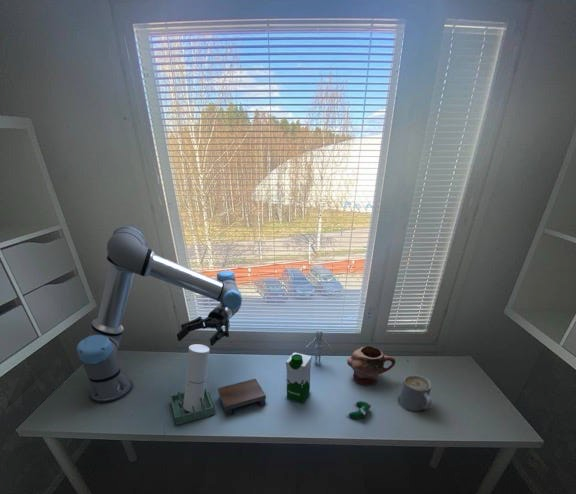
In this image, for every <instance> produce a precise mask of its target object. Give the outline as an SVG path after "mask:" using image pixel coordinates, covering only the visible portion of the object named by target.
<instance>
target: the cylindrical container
mask: <svg viewBox="0 0 576 494" xmlns="http://www.w3.org/2000/svg"><path fill="white" fill-rule="evenodd" d="M210 350H211V349H210V347H209V346H207V345H205V344H200V343H194V344H190V345H189V346H188V353H187V363H186V374H185V384H184V385H185V386H184V392H185V394H184V403H183V407H184V411H187V412H188V413H191V412H193V409H192V406H194V409H195V411H199V410H202V406H201V401H200V397H202V400H203V399H204V391H205V387H206V383H207V382H206V381H207V374H208V366H209V359H210Z"/></svg>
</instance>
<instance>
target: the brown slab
mask: <svg viewBox="0 0 576 494" xmlns="http://www.w3.org/2000/svg"><path fill="white" fill-rule="evenodd" d="M217 393H218V396H219V400H220V403H221V405H222V407H223V409H224V412H225V415H226V416H230V415H233V411H232V410H233V409H236V408H239V407H243V406H246V405H250V404H254V403H259V405H260V406H265V405H266V400H267V394H266V393H265V391H264V390H263V388H262V387H261V385H260V383H259V382H258V380H257V379H256V378H252V379H247V380H244V381H241V382H236V383H232V384H229V385H224V386H220V387H217Z"/></svg>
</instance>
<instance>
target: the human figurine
mask: <svg viewBox="0 0 576 494" xmlns="http://www.w3.org/2000/svg"><path fill="white" fill-rule="evenodd" d="M314 342H316V343H315V345H314V352H315V355H314V357H315V362H314V364H315V366H317V365H319V366H320V365H321V357H322V355H321V354H322V351H323V344H322V342H324V343H325V344H326V345H327V346H329V347H330V349H332V346H331V344H329V343H328V341H326V340H325V338H324V337H323V331H322V330H321V329H317V330H316V333H315V337H314V338H313V340H312V341H310V342H309V343H308V344H306V346H305V349H307V348H308V347H309V346H310V345H312V344H313V343H314Z"/></svg>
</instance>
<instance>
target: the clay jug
mask: <svg viewBox="0 0 576 494" xmlns="http://www.w3.org/2000/svg"><path fill="white" fill-rule="evenodd" d="M388 361H389V362H391V364H390V365H389V366H388V367H385V363H386V362H388ZM346 364H347V365H348V366H349V367H350V368H352V370H353V375H352V377H353V380H354V381H355V382H356V383H358V384H360V385H362V386H363V385H364V386H372V385H374V384H375V383H376V382H377V379H378V377H379V376H380V375H381V374H384V373H386V372H388V371H390V370H391V369H392V368H393V367H394V366H395V365H396V359H395V357H393V356H392V355H384V352H383V351H382V350H381V349H379V348H377V347H374V346H370V345H368V346H361V347H360V348H358V349H356V350H354V351H353V352H352V353H351V356H349V357H348V358H347V361H346Z"/></svg>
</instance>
